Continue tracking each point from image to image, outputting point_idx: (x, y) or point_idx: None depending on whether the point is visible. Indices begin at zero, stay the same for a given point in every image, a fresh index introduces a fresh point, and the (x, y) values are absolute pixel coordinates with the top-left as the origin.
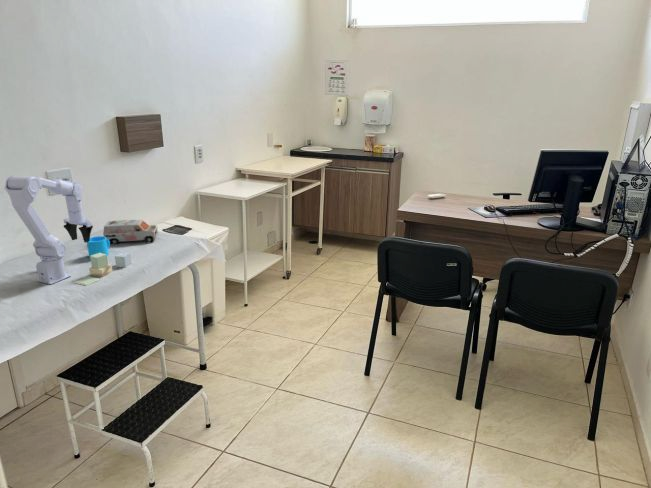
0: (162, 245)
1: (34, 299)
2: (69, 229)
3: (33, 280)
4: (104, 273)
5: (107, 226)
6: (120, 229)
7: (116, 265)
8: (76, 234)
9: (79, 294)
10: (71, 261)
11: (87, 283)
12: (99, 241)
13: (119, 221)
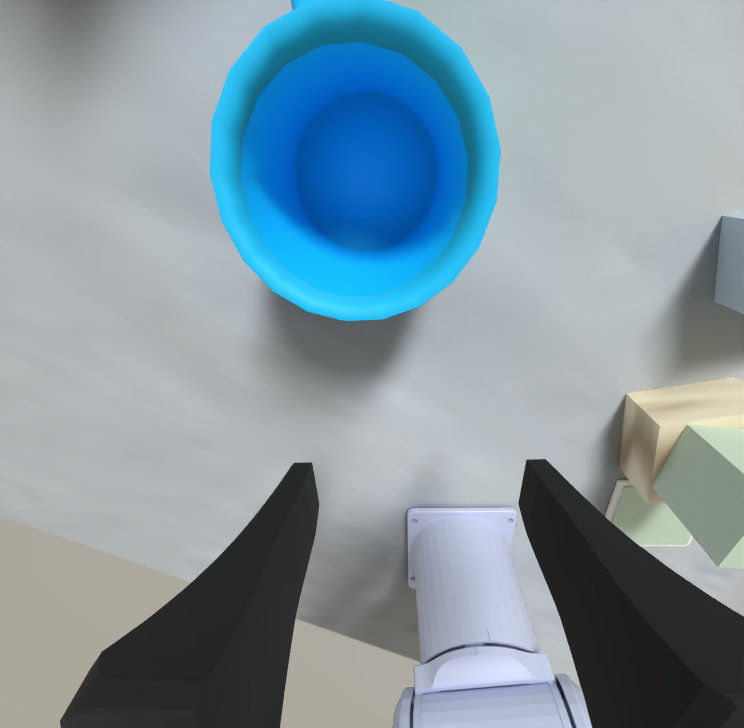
0: None
1: (553, 653)
2: (281, 688)
3: (377, 580)
4: None
5: None
6: None
7: (727, 304)
8: (295, 507)
9: (713, 595)
10: (289, 368)
11: (687, 538)
12: (482, 235)
13: None
